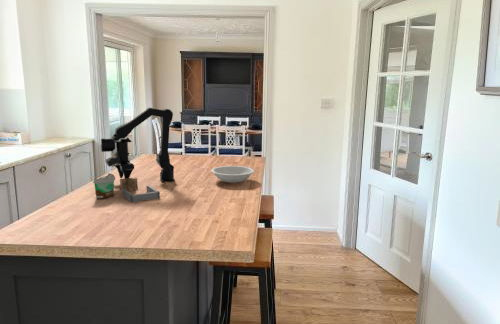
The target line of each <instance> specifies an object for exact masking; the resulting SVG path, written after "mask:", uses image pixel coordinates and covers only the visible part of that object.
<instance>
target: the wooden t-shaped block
mask: <svg viewBox="0 0 500 324" xmlns="http://www.w3.org/2000/svg"><path fill="white" fill-rule="evenodd" d="M119 183H120V185H119V187H120V190H122V189H125V190H127V191H128V192H129V191H130V192H136V191H137V190H136V189H137V188H138V187H139V186H138V185H139V184H138V178H137V177H135V176H134V177H129V178H119Z"/></svg>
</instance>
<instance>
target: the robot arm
mask: <svg viewBox="0 0 500 324" xmlns="http://www.w3.org/2000/svg"><path fill="white" fill-rule="evenodd" d="M152 116H153V117H154V116H155V117H159V120H160V123H161V125H160V127H161V129H160V130H161V131H160V143H159V144H160V145H159V146H160V148H159V149H160V150H159V152H158V153H156V159H155V161H156V164H157V165H158V166H159V167H160V172H159V177H160V179H159V180H160V181H162V182H164V183H167V182H174V181H176V179H175V175H174V174H175V173H174V169H175V166H174V165H172V163H171V160H170V158H171V157H170V154H169V143H170V141H169V140H170V139H169V138H170V126H171V124H172V120H173V116H174V113H173V111H172V110H171V109H170V108H169V109H168V108H162V109H158V108H153V107H148V108H146V109H145V110H144V111H142V112H140V114H138V115H137V116H135V117H134V118H133V119H132V120H129V121H128V122H126V123H123V124H121V125H119V126H117V127H116V128H115V130H114V134H112V135H113V136H111V138H101V139H100V151H101V153H106V152H107V153H108V152H114V151H115V150H116V152H115V153H114V155H113V156H111V157H108V158H106V159H105V163H106V166H108V167H113V166H114V167H115V168H116V169H117V172H118V175H119V179H125V178H131V174H132V173H133V171H134V169H135V165H134V164H133V163H132V162H131V161H130V160H129V156H130V152H129V143H132V140H131V139H130V138H129V135H130V134H131V133H132V131H133V130H134V129H135V128H137V127H138V126H139V125H141V124H142V123H143V122H145V121H146V120H148V119H150V117H152Z"/></svg>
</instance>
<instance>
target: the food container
mask: <svg viewBox="0 0 500 324" xmlns="http://www.w3.org/2000/svg"><path fill="white" fill-rule="evenodd" d="M115 181H116V176H115V175H114V174H113V173H111V172H110V173H107V175H105V176H101V177H99V178H93V184H94V190H95V191H94V192H95V198H96V200H108V199H110V198H111V199H112V198H113V197H114V196H115V195H114V191H115V190H114V189H115V188H114V187H115Z"/></svg>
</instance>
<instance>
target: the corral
mask: <svg viewBox="0 0 500 324" xmlns="http://www.w3.org/2000/svg"><path fill="white" fill-rule="evenodd" d="M121 195H122V197H124V198H125V199H126V200H127V201H128V202H129V203H136V202H142V201H149V200H154V199H155V200H156V199H160V198H161V195H160V191H159V190H158V189H156V188H154V187H153V186H151V185H146V192H145V193H138V194H132V193H131V192H129V190H128V189H121Z"/></svg>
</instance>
